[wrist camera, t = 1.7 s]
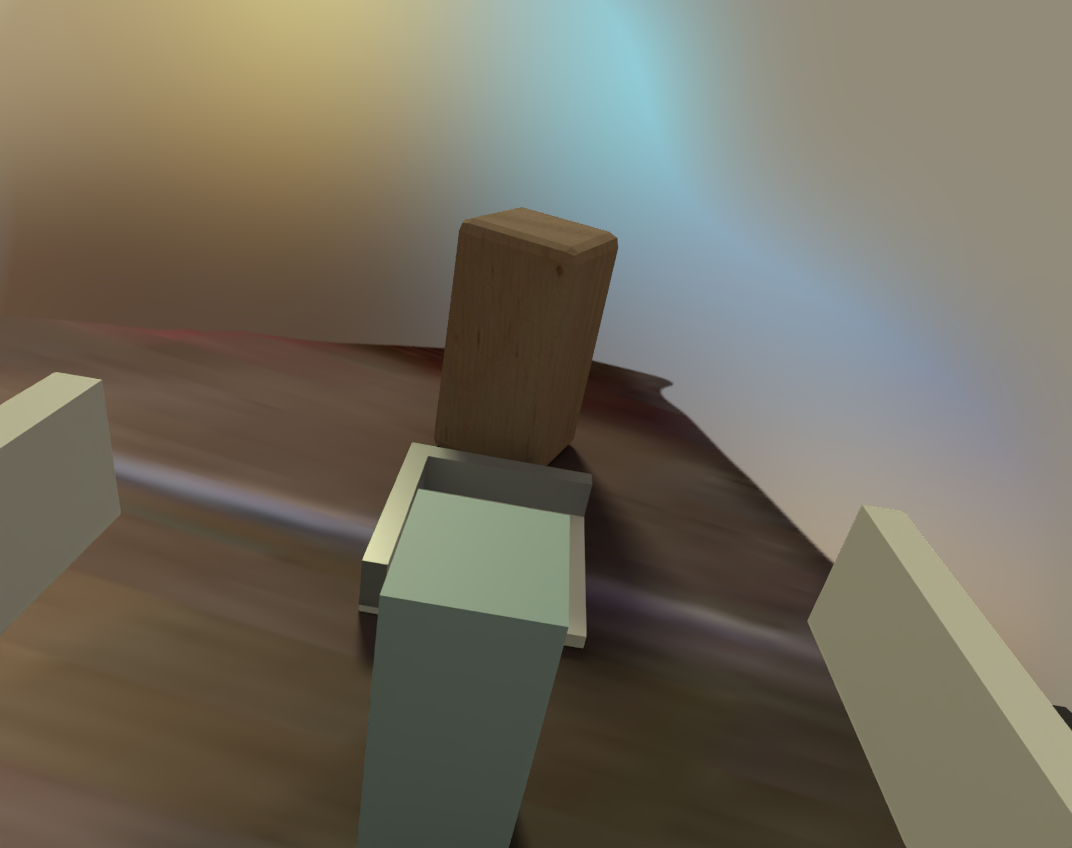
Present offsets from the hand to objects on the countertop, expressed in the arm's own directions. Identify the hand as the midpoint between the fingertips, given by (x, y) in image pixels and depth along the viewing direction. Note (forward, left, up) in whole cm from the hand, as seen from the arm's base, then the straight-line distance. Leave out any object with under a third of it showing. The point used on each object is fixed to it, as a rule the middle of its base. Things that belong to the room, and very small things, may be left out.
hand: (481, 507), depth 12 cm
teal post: (0, +9, -24) cm, 26 cm away
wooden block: (0, +44, -25) cm, 51 cm away
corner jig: (0, +28, -24) cm, 37 cm away
